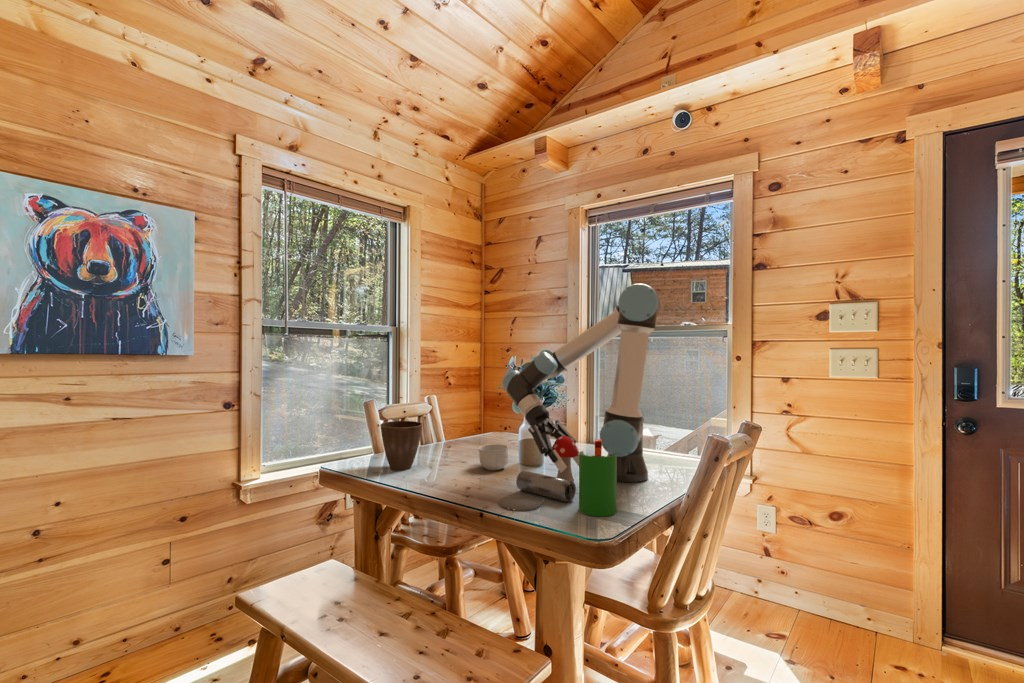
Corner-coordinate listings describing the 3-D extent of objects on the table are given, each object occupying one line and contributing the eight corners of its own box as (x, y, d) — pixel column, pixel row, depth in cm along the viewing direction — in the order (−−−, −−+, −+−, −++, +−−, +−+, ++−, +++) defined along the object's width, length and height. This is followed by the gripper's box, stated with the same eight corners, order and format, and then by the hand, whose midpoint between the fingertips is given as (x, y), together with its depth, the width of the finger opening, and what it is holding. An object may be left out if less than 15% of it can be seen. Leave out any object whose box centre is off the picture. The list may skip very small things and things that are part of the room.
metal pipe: (528, 487, 164) (528, 468, 164) (576, 500, 152) (576, 479, 152) (515, 491, 160) (515, 472, 160) (563, 504, 147) (564, 483, 147)
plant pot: (425, 463, 196) (425, 420, 196) (418, 473, 181) (418, 427, 181) (385, 463, 196) (385, 420, 196) (375, 473, 181) (375, 427, 181)
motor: (612, 506, 147) (613, 435, 147) (620, 516, 138) (620, 441, 138) (576, 506, 146) (577, 435, 146) (582, 516, 137) (582, 441, 137)
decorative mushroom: (546, 480, 167) (546, 434, 167) (570, 478, 169) (570, 432, 169) (558, 489, 157) (558, 439, 157) (584, 486, 160) (584, 437, 160)
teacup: (510, 471, 185) (510, 449, 185) (480, 472, 183) (480, 449, 183) (504, 462, 198) (504, 441, 198) (476, 463, 197) (476, 442, 197)
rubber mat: (519, 495, 156) (519, 492, 156) (550, 503, 148) (550, 501, 148) (490, 504, 147) (490, 501, 147) (522, 513, 139) (522, 510, 139)
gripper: (548, 414, 182) (586, 467, 171) (505, 421, 166) (544, 480, 155) (560, 400, 178) (599, 454, 167) (517, 406, 162) (558, 465, 151)
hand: (573, 466), depth 161 cm, fingers closed on decorative mushroom, 9 cm apart
